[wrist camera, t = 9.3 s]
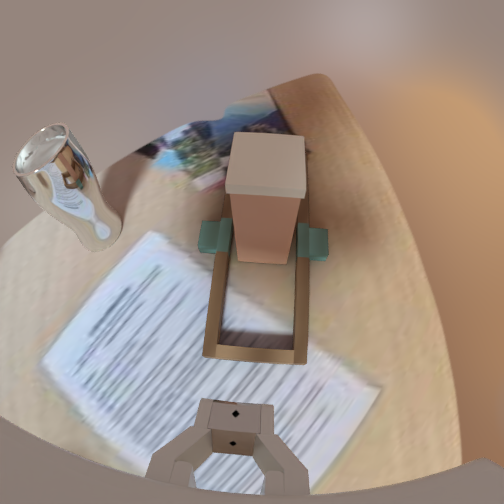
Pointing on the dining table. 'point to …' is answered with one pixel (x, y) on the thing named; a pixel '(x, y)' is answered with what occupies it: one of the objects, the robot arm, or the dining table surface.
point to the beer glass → (67, 186)
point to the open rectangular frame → (307, 248)
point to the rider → (265, 193)
